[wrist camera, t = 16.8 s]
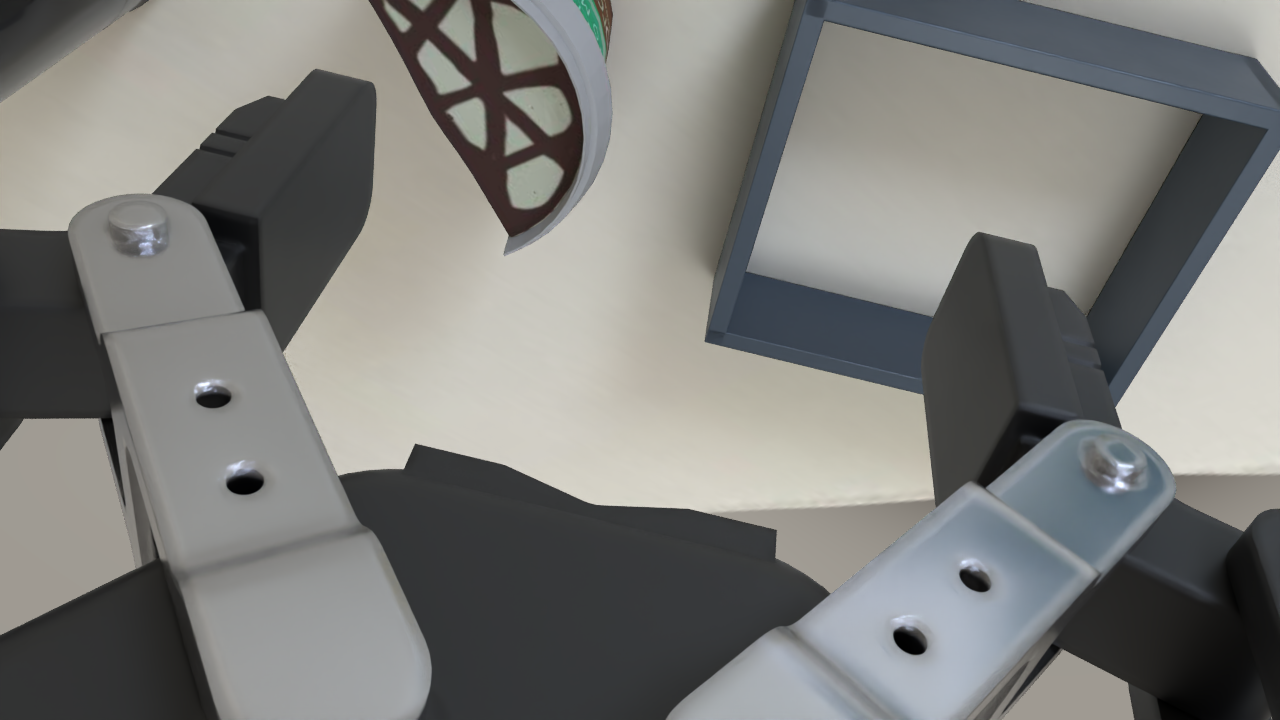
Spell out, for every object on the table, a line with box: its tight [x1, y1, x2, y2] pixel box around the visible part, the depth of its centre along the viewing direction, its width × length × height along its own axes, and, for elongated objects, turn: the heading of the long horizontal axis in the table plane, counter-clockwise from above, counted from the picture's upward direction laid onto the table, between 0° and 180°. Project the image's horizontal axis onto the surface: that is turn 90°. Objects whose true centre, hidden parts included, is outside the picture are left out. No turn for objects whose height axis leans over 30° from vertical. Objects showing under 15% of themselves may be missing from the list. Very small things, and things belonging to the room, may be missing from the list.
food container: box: [369, 0, 613, 256], centre depth 40 cm, size 12×6×10 cm, turn 25°
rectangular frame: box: [705, 0, 1280, 407], centre depth 44 cm, size 18×16×5 cm
